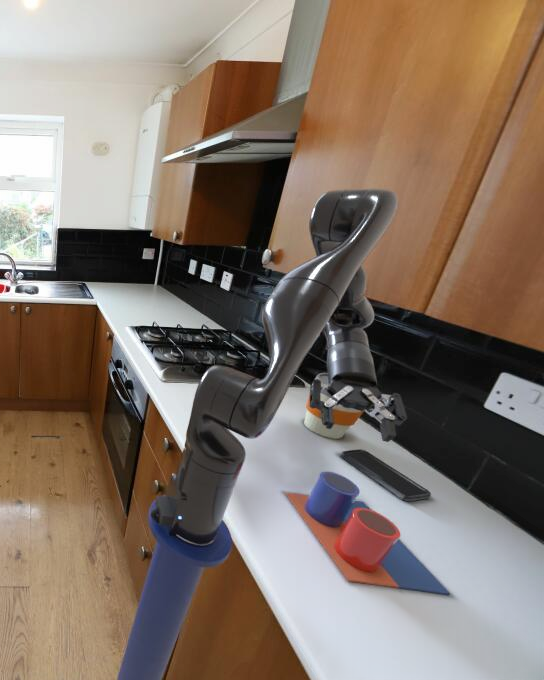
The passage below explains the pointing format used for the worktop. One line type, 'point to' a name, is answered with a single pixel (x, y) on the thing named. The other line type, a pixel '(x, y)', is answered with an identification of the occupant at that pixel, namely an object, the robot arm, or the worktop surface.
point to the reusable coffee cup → (341, 415)
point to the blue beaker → (331, 499)
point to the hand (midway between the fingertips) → (358, 433)
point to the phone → (386, 475)
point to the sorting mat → (393, 571)
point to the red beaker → (366, 539)
